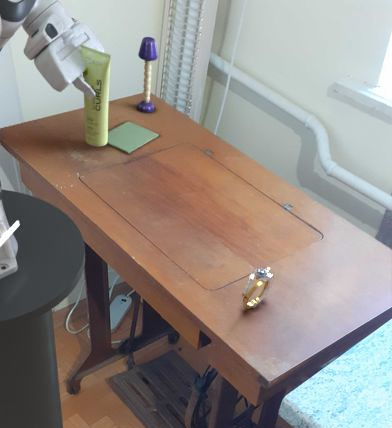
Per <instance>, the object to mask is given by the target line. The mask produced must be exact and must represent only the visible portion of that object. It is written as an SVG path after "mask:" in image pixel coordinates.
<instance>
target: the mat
mask: <svg viewBox="0 0 392 428" xmlns="http://www.w3.org/2000/svg"><path fill="white" fill-rule="evenodd" d="M157 137H159V133H157V132H155V131H152V130H150V129H147V128H145V127H143V126H141V125H138V124H136V123H134V122H132V121H130V120H129V121H125V122H124V123H122V124H120V125H119V126H117V127H115V128H113V129H111V130H108V142H107V144H106V145H109V146H111V147H113V148H115V149H118V150H120V151H122V152H124V153H126V154H130V153H133V152H134V151H136V150H138V149H139V148H140V147H142V146H144V145H146V144H147V143H149V142H150V141H152V140H154V139H156V138H157Z"/></svg>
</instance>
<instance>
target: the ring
mask: <svg viewBox="0 0 392 428" xmlns="http://www.w3.org/2000/svg"><path fill="white" fill-rule="evenodd" d="M270 269H271V268H270V267H267V268H266V267H264V268H263V267H260V268H259V267H256V268H254V269H253V270H252V272H251V274H250V275H249V278H248V280H247V282H246V284H245V286H244V288H243V291H242V294H241V297H240V303H241V305H242V306H243V307H244V308H245V309H247V310H248V309H254V308H256V307H257V305H259V304H260V303H261V302H262V301H263V300H264V299H265V298H266V296H267V295H268V293H269V292H270V290H271V288H272V286H273V284H274V278H275V277H274V276H275V275H274V274H273V273H271V272H270ZM254 280H257V281H258V282H257V283H256V284H255V285H254V286H253V287H252V288H251V286H252V284H253V282H254ZM263 284H264V286H263V288H262V290H261V292H260V293H259V295H258V296H257V297H256V298H255V299H252V300H250V298H251V297H252V296H253V294H254V293H255V292H256V291H257V290H258V288H259V287H260V286H261V285H263ZM249 300H250V302H249Z"/></svg>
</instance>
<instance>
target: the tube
mask: <svg viewBox="0 0 392 428" xmlns="http://www.w3.org/2000/svg"><path fill="white" fill-rule="evenodd" d="M81 53H82V56H83V58H84V60H85V62H86V65H87V69H86V70H85V71H84V72H83V73H82V76H83V78H84V79H85V80H84V81H85V82H86V83H87V84H88V85H90V86H93V87H94V88H95V90H96V91H97V94H96V95H95V96H94V97H93V98H92V99H89V98H88V97H87V96H86V95H85V93H83V107H84V130H85V131H84V133H85V134H84V135H85V142H86V144H88V145H90V146H93V147H104V146H106V145H108V144H107V142H108V132H109V97H110V76H111V75H110V73H111V60H112V55H111V54H109V53H106V52H105V53H104V52H101V51H98V50H95V49H92V48H90V47H87V46H84V45H82V44H81Z"/></svg>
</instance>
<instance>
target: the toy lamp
mask: <svg viewBox="0 0 392 428" xmlns="http://www.w3.org/2000/svg"><path fill="white" fill-rule="evenodd" d="M157 47H158V46H157V43H156V39H155V38H154V37H151V36H144V37H143V38H142V40H141V43H140V46H139V50H138V53H137V54H138V58H139V59H141V60H142V61H144V67H143V68H144V72H143V76H144V77H143V91H142V94H143V96H142V100H141V101H139V102H138V105H137V109H138V110H139V111H140V112H142V113H147V114H148V113H153V112H154V111H155V105H154V103H153V102H152V101H151V97H150V96H151V88H152V87H151V85H152V84H151V83H152V78H151V77H152V69H153V68H152V67H153V66H152V63H153V61H157V60H158V58H159V53H158V48H157Z"/></svg>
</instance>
